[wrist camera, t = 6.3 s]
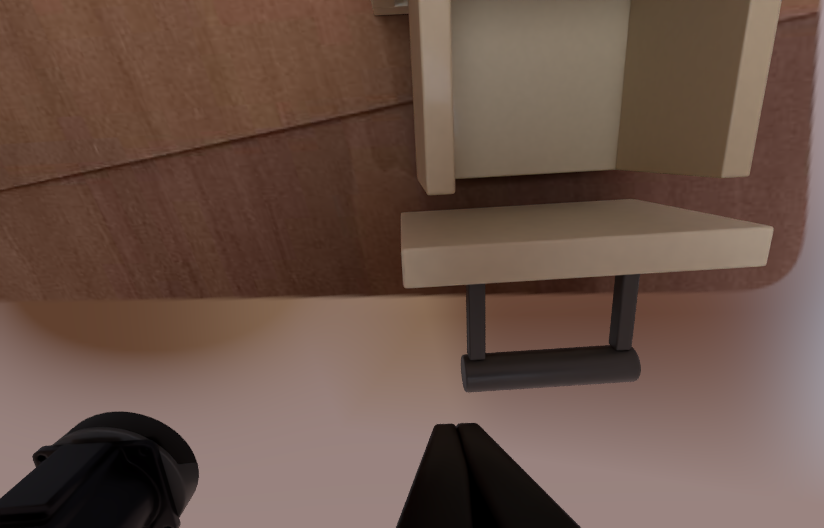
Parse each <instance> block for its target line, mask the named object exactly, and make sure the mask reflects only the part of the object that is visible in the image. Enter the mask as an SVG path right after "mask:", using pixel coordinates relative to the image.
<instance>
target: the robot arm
mask: <svg viewBox="0 0 824 528" xmlns="http://www.w3.org/2000/svg"><path fill="white" fill-rule="evenodd" d="M145 448H146V449H145ZM33 461H34V463H35V466H36V468H35V469H34V470H33V471H32V472H30V473H29V474H28V475H27V476H26V477H25V478H24V479H22V480H21V481H20V482H19V483H18V484H17V485H15V486H14V487H13V488H12V489H11V490H10V491H8V492H7V493H6V494H5V495H4V496H3V497H2V498H0V528H179V526H180V520H179V516H178V513H177V509H176V506H175V503H174V499H173V496H172V492H171V489H170V485H169V482H168V478H167V475H166V472H165V468H164V465H163V461H162V458H161V454H160V451H159V448H158V445H157V443H156V442H155V441H153V440H150V439H141V440H126V441H111V442H96V443H81V444H66V445H51V446H44V447H41V448H40V449H39V450H38V451H37V452H36V453H34V454H33ZM396 528H580V526H579V525H578V524H577V523H576V522H575V521H574V520H573V519H572V518H571V517H570V516H569V515H568V514H567V513H566V512H565V511H564V510H563V509H562V508H561V507H560V506H559V505H558V504H557V503H556V502H555V501H554V500H553V499H552V498H551V497H550V496H549V495H548V494H546V492H545V491H544V490H543V489H542V488H541V487H540V486H539V485H538V484H537V483H536V482H535V481H534V480H533V479H532V478H531V477H530V476H529V475H528V474H527V473H526V472H525V471H524V470H523V469H522V468H521V467H520V466H519V465H518V464H517V463H516V462H515V461H514V460H513V459H512V458H511V457H510V456H509V455H508V454H507V453H506V452H505V451H504V450H503V449H502V448H501V447H500V446H499V445H498V444H497V443H496V442H495V441H494V440H493V439H492V438H491V437H490V436H489V435H488V434H487V433H486V432H485V431H484V430H483V429H482V428H481V427H480V426H479V425H478V424H476V423H460V424H458V425H457V426H455V425H454V424H437V425H435V426H434V428H433V431H432V434H431V436H430V439H429V442H428V444H427V447H426V450H425V452H424V455H423V457H422V460H421V463H420V465H419V468H418V471H417V473H416V476H415V479H414V481H413V484H412V486H411V489H410V492H409V495H408V497H407V500H406V502H405V505H404V508H403V510H402V513H401V516H400V518H399V521H398V523H397V526H396Z"/></svg>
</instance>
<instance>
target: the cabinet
mask: <svg viewBox="0 0 824 528" xmlns="http://www.w3.org/2000/svg"><path fill="white" fill-rule="evenodd" d="M371 3H372V8H373V13H374V15H393V14H409V9H408V0H371Z"/></svg>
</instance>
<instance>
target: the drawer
mask: <svg viewBox="0 0 824 528" xmlns="http://www.w3.org/2000/svg"><path fill="white" fill-rule="evenodd" d="M781 2H782V0H408V9H409V29H410V49H411V68H412V88H413V108H414V128H415V147H416V167H417V179H418V181H419V182H420V184H421V185H422V187H423V189H424V190H425V192H426V193H427V195H444V194H453V193H455V179H466V178H483V177H500V176H517V175H534V174H551V173H568V172H585V171H602V170H625V171H638V172H651V173H663V174H676V175H689V176H701V177H714V178H732V177H747V176H749V174H750V168H751V163H752V158H753V152H754V147H755V141H756V136H757V131H758V125H759V120H760V114H761V109H762V104H763V98H764V93H765V88H766V82H767V77H768V71H769V66H770V61H771V55H772V50H773V45H774V39H775V34H776V28H777V23H778V18H779V12H780V7H781ZM773 230H774V229H773V227H771V226H768V225H763V224H758V223H753V222H748V221H743V220H738V219H732V218H727V217H722V216H717V215H712V214H707V213H702V212H697V211H692V210H687V209H682V208H677V207H672V206H667V205H662V204H657V203H652V202H647V201H642V200H637V199H620V200H603V201H586V202H570V203H553V204H536V205H519V206H503V207H486V208H469V209H452V210H436V211H419V212H403V213H401V258H402V273H403V286H404V288H421V287H437V286H453V285H466V306H467V307H466V310H467V311H466V312H467V353H468V354H466V355H463V356H462V357H461V374H462V381H463V387H464V390H465V391H466V392H481V391H496V390H511V389H525V388H541V387H557V386H571V385H587V384H602V383H617V382H632V381H636V380H637V379H638V378H639V376H640V372H641V366H640V360H639V357H638V355H637V353H636V351H635V350H634V349H633V347H631V346H632V337H633V329H634V321H635V312H636V303H637V295H638V286H639V278H640V274H646V273H662V272H678V271H694V270H710V269H726V268H742V267H758V266H765V265H766V264H767V259H768V254H769V249H770V245H771V240H772V235H773ZM614 275H615V284H614V294H613V304H612V315H611V325H610V336H609V344H610V345H605V346H589V347H575V348H559V349H543V350H528V351H513V352H496V353H485V283H501V282H517V281H533V280H549V279H565V278H581V277H597V276H614Z"/></svg>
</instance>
